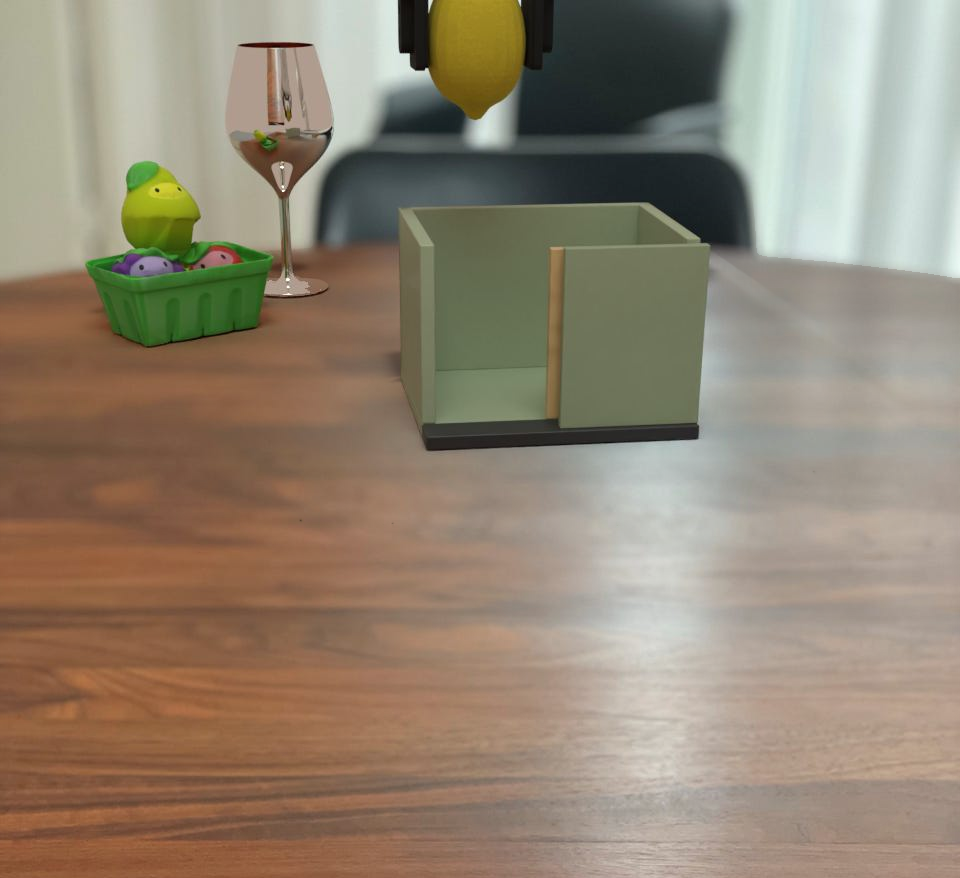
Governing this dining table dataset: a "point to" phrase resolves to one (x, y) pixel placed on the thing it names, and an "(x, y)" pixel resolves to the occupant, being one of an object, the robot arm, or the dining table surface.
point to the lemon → (476, 51)
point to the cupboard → (523, 323)
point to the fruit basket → (175, 269)
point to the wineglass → (279, 126)
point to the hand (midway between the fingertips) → (475, 64)
